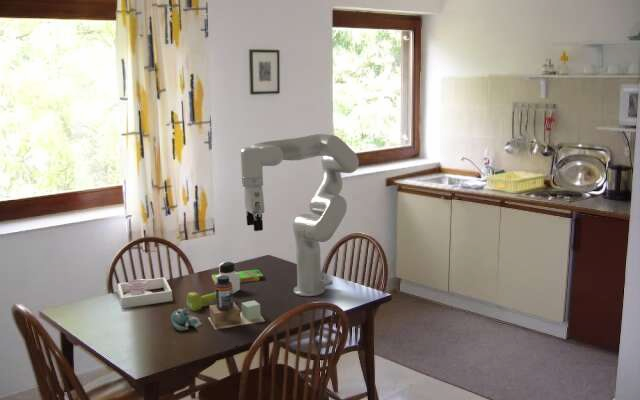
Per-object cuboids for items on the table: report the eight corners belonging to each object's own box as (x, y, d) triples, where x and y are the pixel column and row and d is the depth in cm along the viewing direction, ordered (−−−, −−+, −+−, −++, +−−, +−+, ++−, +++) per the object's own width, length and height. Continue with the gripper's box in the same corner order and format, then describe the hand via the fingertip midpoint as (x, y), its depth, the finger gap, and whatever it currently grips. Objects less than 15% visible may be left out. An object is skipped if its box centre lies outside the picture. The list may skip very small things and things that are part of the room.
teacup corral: (165, 286, 281) (164, 277, 280) (172, 300, 264) (171, 291, 263) (118, 293, 274) (117, 283, 274) (122, 308, 257) (121, 298, 256)
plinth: (256, 312, 248) (255, 296, 247) (265, 324, 237) (264, 307, 236) (208, 320, 242) (207, 304, 241) (215, 332, 231) (214, 315, 230)
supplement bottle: (216, 305, 240) (215, 274, 238) (233, 304, 240) (232, 273, 238) (215, 311, 234) (214, 279, 232) (233, 310, 235) (231, 279, 232)
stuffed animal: (191, 320, 229) (163, 309, 234) (189, 339, 231) (162, 327, 236) (210, 310, 238) (183, 299, 243) (208, 328, 240) (182, 317, 245)
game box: (212, 281, 290) (258, 273, 296) (216, 288, 281) (263, 280, 286) (211, 274, 289) (258, 266, 295) (215, 281, 280) (263, 273, 286)
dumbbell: (195, 315, 248) (193, 297, 246) (184, 309, 254) (183, 291, 253) (233, 304, 258) (232, 286, 257) (222, 299, 264) (221, 282, 263)
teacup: (137, 304, 262) (136, 288, 260) (116, 299, 268) (114, 284, 266) (159, 294, 272) (158, 280, 271) (138, 290, 278) (137, 275, 277)
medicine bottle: (240, 289, 274) (238, 261, 272) (230, 295, 268) (229, 266, 266) (225, 287, 277) (223, 259, 275) (215, 293, 271) (214, 264, 269)
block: (254, 313, 245) (253, 300, 244) (260, 317, 241) (260, 304, 240) (242, 316, 242) (241, 303, 241) (247, 320, 238) (247, 307, 237)
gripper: (269, 184, 236) (271, 231, 240) (256, 177, 252) (258, 221, 256) (248, 186, 234) (251, 234, 237) (236, 178, 250) (238, 223, 253)
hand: (254, 227), depth 247 cm, fingers open, 9 cm apart
